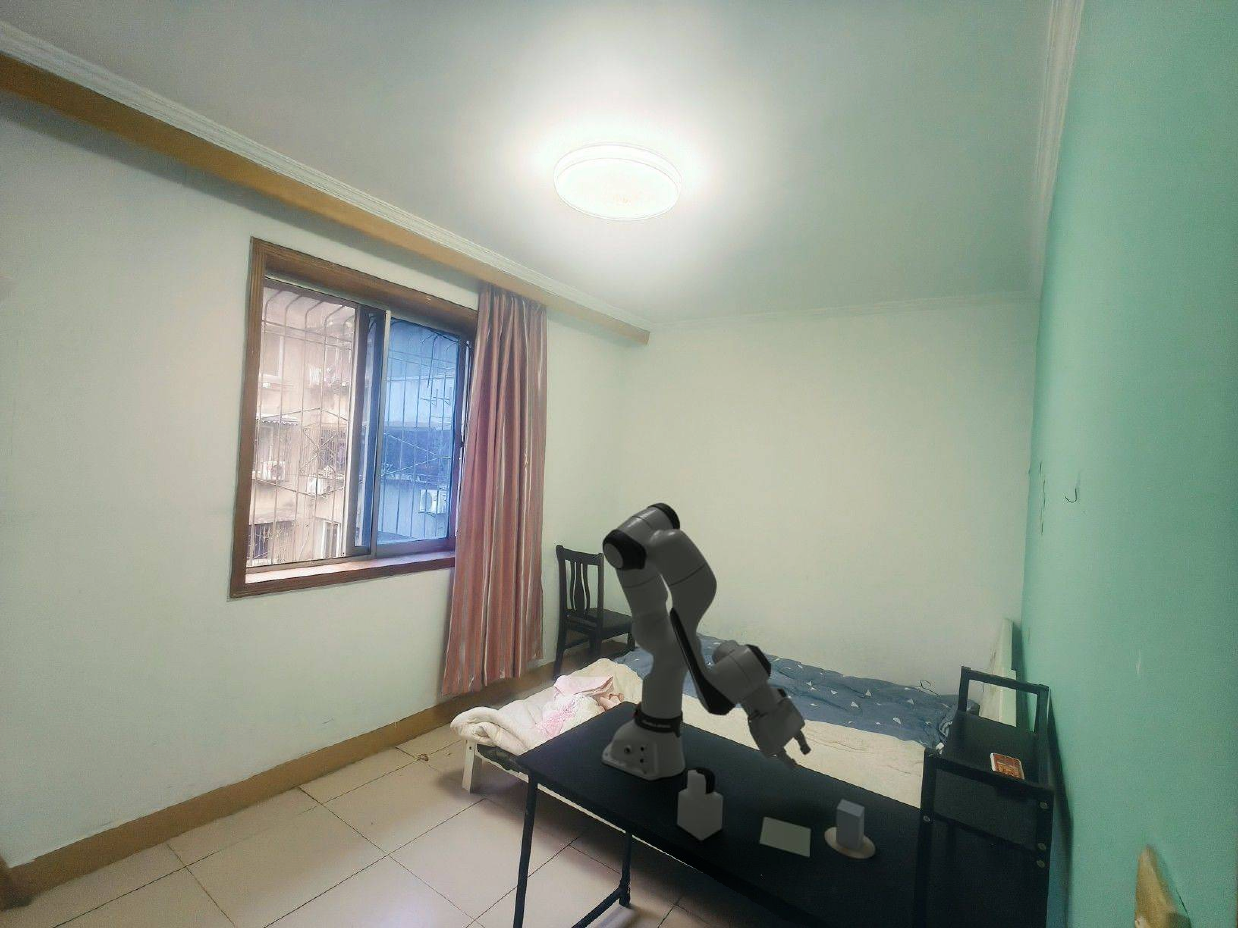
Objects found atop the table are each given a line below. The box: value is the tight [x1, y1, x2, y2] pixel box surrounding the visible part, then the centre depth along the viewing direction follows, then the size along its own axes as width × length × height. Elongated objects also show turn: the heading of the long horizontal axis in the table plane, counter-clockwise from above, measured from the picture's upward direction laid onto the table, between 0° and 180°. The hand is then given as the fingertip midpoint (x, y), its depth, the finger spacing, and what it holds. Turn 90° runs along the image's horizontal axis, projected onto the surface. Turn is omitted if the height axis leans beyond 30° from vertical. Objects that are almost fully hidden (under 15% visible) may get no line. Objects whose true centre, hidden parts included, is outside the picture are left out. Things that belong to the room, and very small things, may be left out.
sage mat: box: [759, 816, 811, 858], centre depth 116 cm, size 10×10×1 cm
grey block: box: [835, 798, 865, 852], centre depth 115 cm, size 5×5×7 cm
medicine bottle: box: [676, 766, 724, 841], centre depth 118 cm, size 7×7×12 cm
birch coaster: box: [824, 826, 876, 859], centre depth 115 cm, size 10×10×1 cm
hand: (801, 760), depth 122 cm, fingers open, 8 cm apart
